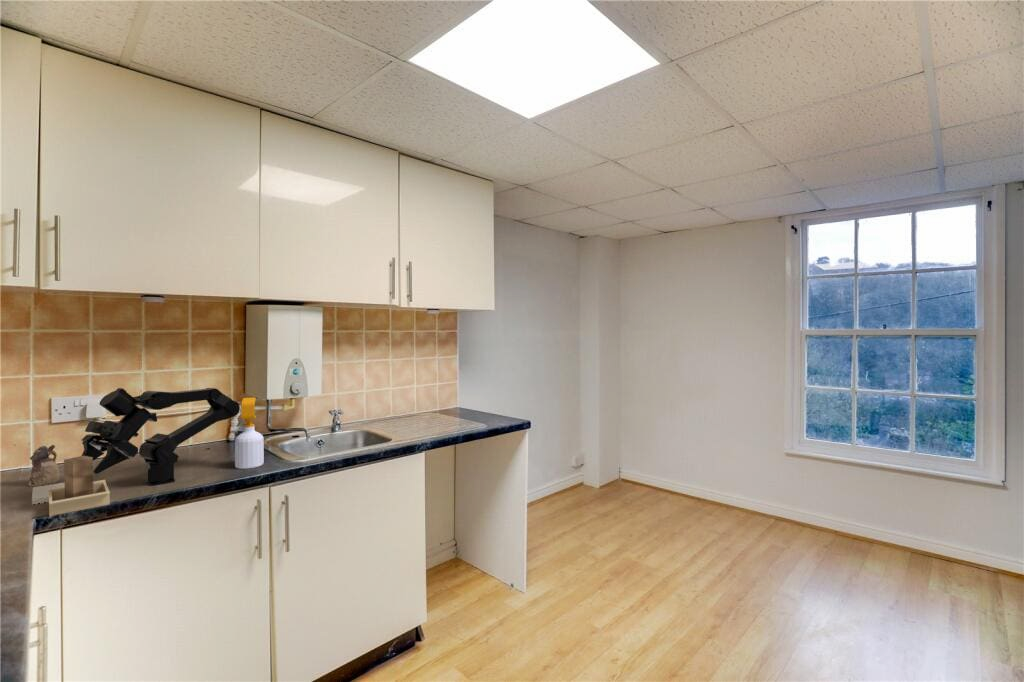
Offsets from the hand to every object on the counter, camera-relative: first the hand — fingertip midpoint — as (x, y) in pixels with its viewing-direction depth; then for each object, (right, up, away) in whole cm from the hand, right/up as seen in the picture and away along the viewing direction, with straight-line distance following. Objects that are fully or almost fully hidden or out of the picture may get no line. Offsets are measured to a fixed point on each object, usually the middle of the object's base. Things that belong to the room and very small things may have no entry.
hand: (85, 470), depth 135 cm
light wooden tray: (-1, -9, -1) cm, 9 cm away
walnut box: (-1, -9, -1) cm, 9 cm away
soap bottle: (+26, -8, +37) cm, 46 cm away
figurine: (-28, -9, +17) cm, 34 cm away
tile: (-14, -9, +6) cm, 18 cm away
